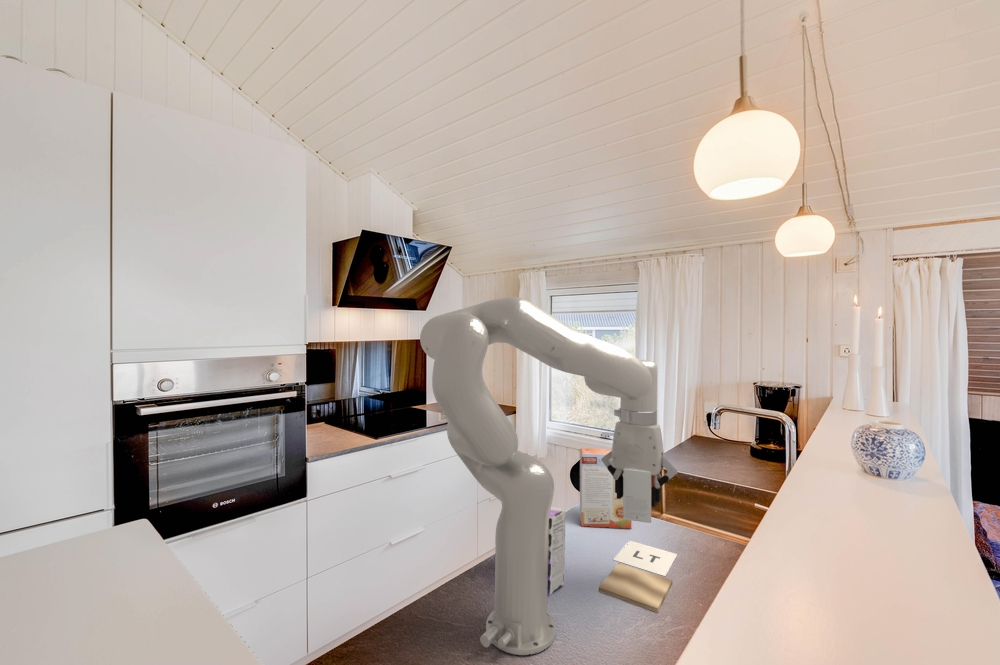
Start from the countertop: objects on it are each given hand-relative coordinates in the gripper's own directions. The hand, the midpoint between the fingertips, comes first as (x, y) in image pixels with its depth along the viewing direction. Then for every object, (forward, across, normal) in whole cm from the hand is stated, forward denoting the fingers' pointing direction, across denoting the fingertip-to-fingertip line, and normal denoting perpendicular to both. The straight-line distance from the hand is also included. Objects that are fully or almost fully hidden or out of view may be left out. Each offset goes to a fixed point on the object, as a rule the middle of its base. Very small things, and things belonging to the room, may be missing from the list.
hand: (637, 500), depth 92 cm
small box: (+3, 0, 0) cm, 3 cm away
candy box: (+19, -20, -10) cm, 29 cm away
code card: (+19, -2, +14) cm, 23 cm away
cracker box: (+19, -17, +26) cm, 36 cm away
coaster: (+19, 0, 0) cm, 19 cm away
